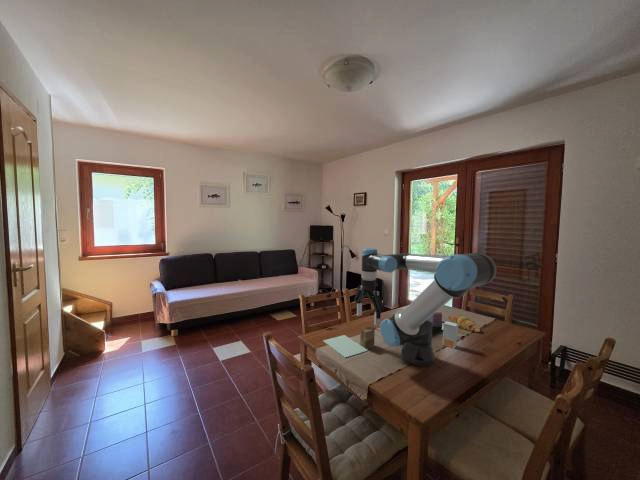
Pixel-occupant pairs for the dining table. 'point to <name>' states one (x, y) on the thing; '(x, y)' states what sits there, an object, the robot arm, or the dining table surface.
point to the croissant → (464, 323)
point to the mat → (345, 346)
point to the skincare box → (450, 334)
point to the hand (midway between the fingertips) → (367, 319)
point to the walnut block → (367, 337)
